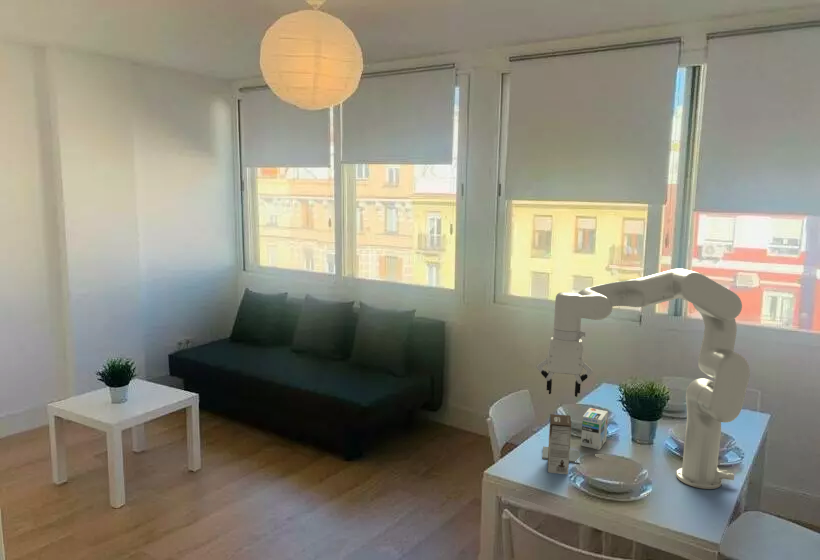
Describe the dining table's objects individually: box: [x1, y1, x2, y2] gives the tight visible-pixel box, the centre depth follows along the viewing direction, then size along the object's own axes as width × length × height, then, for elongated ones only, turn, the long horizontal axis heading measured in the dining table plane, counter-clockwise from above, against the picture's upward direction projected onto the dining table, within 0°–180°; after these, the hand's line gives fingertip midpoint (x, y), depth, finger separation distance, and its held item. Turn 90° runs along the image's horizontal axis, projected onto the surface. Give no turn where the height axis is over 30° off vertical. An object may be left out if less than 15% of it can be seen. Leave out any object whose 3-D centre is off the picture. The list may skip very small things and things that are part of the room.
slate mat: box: [541, 446, 581, 464], centre depth 202 cm, size 12×9×1 cm
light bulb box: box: [580, 407, 609, 451], centre depth 212 cm, size 11×7×11 cm, turn 150°
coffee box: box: [547, 413, 572, 475], centre depth 192 cm, size 9×6×16 cm
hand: (562, 393), depth 179 cm, fingers open, 6 cm apart
